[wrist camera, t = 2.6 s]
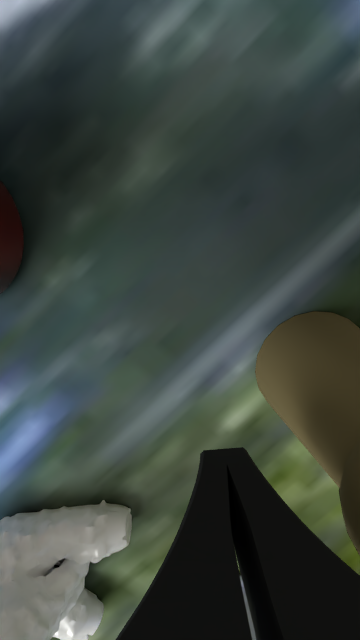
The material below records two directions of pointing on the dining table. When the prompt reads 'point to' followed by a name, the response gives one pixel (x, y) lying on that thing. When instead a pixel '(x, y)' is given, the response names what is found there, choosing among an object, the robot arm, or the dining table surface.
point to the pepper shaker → (319, 396)
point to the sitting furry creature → (56, 569)
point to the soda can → (9, 238)
